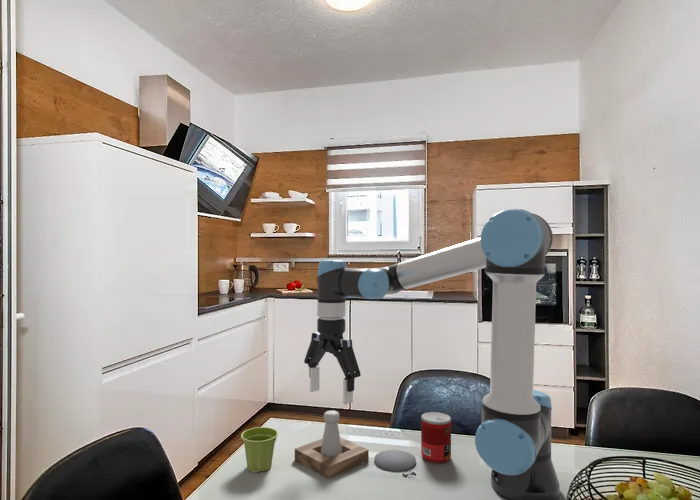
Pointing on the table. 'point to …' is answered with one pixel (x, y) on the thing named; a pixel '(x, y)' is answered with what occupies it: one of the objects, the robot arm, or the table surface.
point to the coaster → (395, 460)
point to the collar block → (334, 465)
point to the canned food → (436, 437)
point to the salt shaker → (331, 435)
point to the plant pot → (259, 447)
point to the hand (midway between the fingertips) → (330, 396)
